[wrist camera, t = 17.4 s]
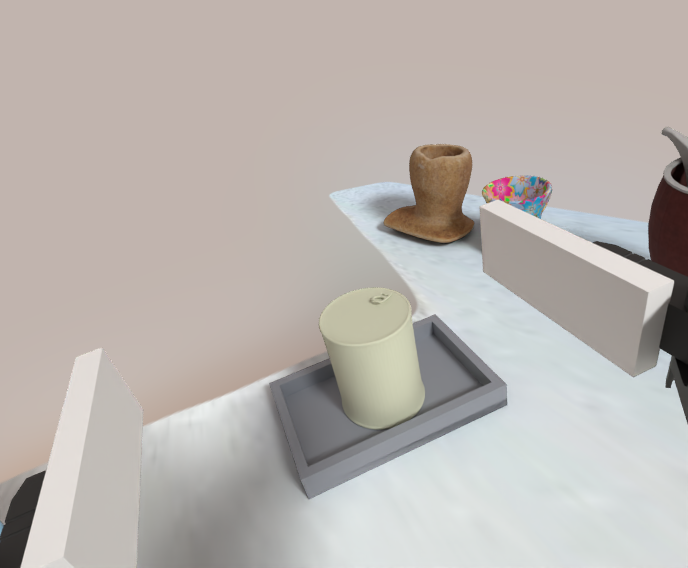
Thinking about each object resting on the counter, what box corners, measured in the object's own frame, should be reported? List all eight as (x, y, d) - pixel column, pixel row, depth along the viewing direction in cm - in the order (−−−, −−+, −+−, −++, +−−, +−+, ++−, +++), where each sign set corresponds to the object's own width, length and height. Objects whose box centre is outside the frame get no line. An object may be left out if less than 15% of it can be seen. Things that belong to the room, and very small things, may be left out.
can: (441, 385, 49) (430, 296, 43) (391, 445, 44) (369, 354, 38) (376, 356, 55) (357, 275, 49) (325, 406, 50) (297, 323, 44)
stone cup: (491, 224, 79) (487, 139, 71) (445, 254, 74) (436, 166, 66) (426, 208, 90) (417, 133, 82) (383, 233, 85) (369, 155, 77)
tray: (308, 499, 42) (300, 480, 41) (276, 401, 54) (269, 383, 52) (507, 404, 47) (506, 384, 45) (437, 332, 58) (435, 314, 57)
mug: (519, 275, 65) (518, 207, 59) (472, 254, 72) (468, 192, 66) (575, 242, 69) (579, 176, 63) (525, 225, 76) (525, 165, 70)
